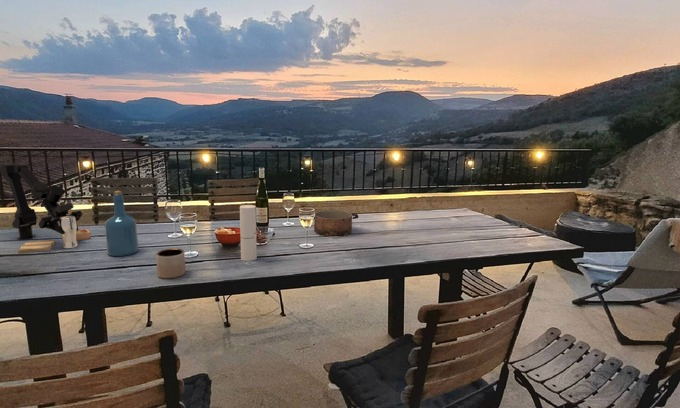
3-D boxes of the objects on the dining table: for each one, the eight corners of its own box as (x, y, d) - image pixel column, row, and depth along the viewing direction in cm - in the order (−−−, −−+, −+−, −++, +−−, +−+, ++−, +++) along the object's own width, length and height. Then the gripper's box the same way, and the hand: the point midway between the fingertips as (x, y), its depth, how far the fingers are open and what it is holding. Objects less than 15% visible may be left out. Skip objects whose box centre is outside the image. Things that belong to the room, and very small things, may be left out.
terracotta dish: (68, 237, 210) (67, 231, 210) (87, 234, 216) (87, 228, 215) (70, 241, 204) (69, 235, 203) (90, 238, 210) (90, 232, 209)
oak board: (26, 244, 197) (25, 242, 197) (55, 242, 202) (54, 239, 202) (18, 253, 185) (18, 250, 184) (49, 250, 190) (49, 247, 190)
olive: (76, 236, 210) (75, 230, 210) (83, 235, 212) (82, 230, 211) (75, 237, 208) (74, 232, 207) (82, 237, 209) (81, 231, 209)
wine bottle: (125, 258, 181) (119, 194, 175) (100, 255, 184) (94, 192, 178) (145, 249, 194) (140, 189, 188) (122, 247, 197) (116, 188, 191)
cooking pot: (308, 237, 222) (308, 218, 220) (307, 227, 244) (307, 210, 241) (360, 236, 225) (361, 218, 223) (355, 226, 247) (355, 210, 245)
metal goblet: (70, 249, 192) (66, 219, 189) (58, 248, 193) (54, 218, 190) (82, 245, 199) (79, 216, 196) (70, 243, 200) (67, 215, 197)
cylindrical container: (259, 257, 187) (258, 205, 182) (251, 261, 181) (250, 208, 176) (246, 255, 189) (245, 204, 184) (238, 259, 183) (236, 207, 178)
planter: (162, 269, 169) (161, 248, 167) (188, 269, 170) (187, 248, 168) (153, 279, 158) (151, 256, 156) (181, 279, 159) (179, 256, 157)
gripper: (38, 201, 184) (57, 226, 182) (78, 194, 201) (95, 218, 199) (30, 215, 189) (48, 240, 187) (69, 208, 206) (86, 231, 204)
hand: (70, 232), depth 194 cm, fingers closed on metal goblet, 6 cm apart
